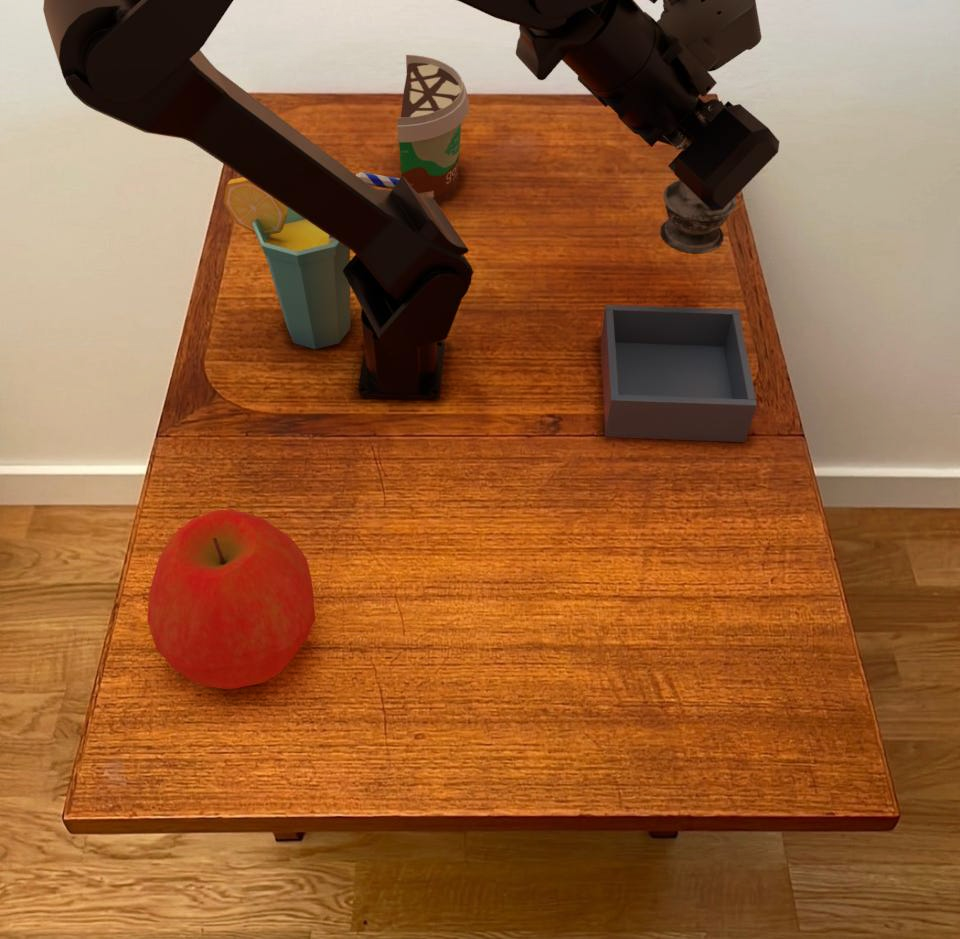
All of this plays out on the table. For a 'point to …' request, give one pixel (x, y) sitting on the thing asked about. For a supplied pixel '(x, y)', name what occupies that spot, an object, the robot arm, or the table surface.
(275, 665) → the apple
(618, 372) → the grey open tray box
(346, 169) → the robot arm
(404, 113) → the food container
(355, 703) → the table surface
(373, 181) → the cup
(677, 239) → the grey stone upright piece
